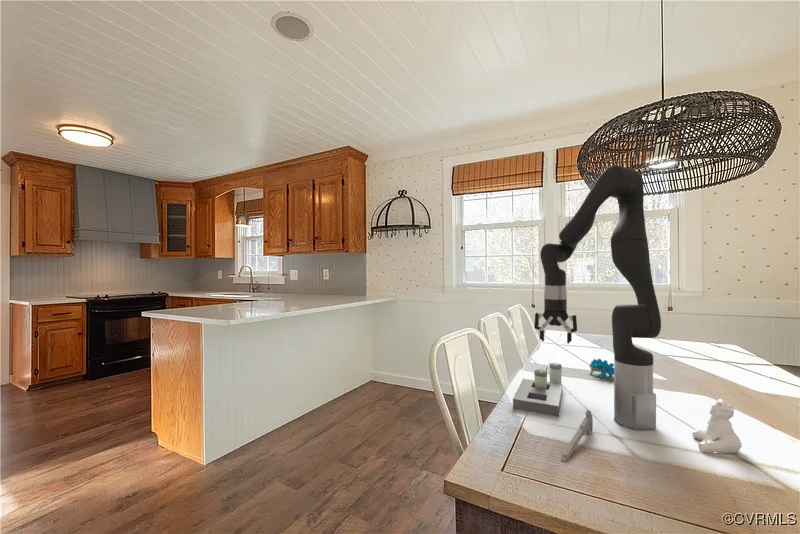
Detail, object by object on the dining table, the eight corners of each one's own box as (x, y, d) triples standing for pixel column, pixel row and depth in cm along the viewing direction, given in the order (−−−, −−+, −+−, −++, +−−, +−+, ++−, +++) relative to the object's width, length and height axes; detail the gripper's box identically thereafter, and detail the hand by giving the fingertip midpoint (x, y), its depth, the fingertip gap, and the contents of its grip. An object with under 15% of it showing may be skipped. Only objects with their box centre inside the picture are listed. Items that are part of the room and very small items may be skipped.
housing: (558, 416, 105) (558, 389, 105) (512, 408, 111) (512, 382, 111) (562, 392, 125) (562, 369, 125) (523, 386, 131) (523, 364, 131)
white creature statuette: (690, 435, 94) (690, 389, 94) (734, 443, 90) (734, 395, 89) (699, 452, 85) (700, 401, 85) (748, 461, 81) (748, 408, 81)
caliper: (588, 431, 97) (588, 408, 96) (592, 432, 96) (592, 409, 96) (560, 461, 82) (560, 434, 82) (565, 463, 81) (565, 435, 81)
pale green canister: (563, 387, 130) (563, 365, 130) (553, 388, 129) (553, 366, 129) (557, 384, 134) (557, 362, 134) (547, 384, 133) (547, 363, 133)
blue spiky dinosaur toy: (624, 374, 140) (611, 358, 137) (620, 387, 138) (606, 371, 135) (597, 371, 150) (585, 356, 147) (593, 383, 147) (579, 367, 145)
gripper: (577, 297, 132) (577, 341, 132) (535, 296, 138) (535, 338, 138) (576, 299, 125) (576, 346, 125) (533, 297, 131) (533, 342, 131)
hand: (555, 341), depth 132 cm, fingers open, 8 cm apart
